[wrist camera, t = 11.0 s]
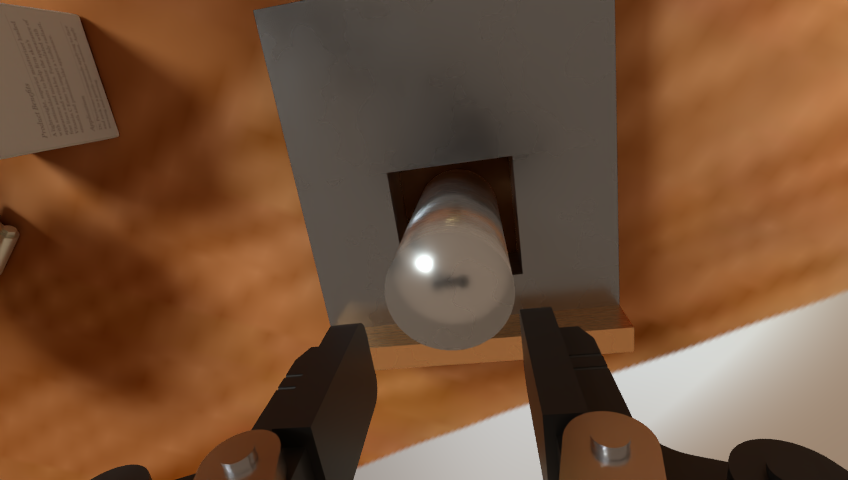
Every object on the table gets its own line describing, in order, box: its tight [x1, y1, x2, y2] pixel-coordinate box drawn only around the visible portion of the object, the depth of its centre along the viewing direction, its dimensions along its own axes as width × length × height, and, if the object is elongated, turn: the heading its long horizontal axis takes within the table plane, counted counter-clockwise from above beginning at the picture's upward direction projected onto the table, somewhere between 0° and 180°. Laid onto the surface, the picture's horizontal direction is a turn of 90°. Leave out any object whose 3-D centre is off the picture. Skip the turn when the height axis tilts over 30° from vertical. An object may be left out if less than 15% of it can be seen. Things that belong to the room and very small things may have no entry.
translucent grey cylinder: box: [385, 169, 515, 350], centre depth 18 cm, size 4×4×10 cm
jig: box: [253, 0, 634, 370], centre depth 20 cm, size 16×14×5 cm
